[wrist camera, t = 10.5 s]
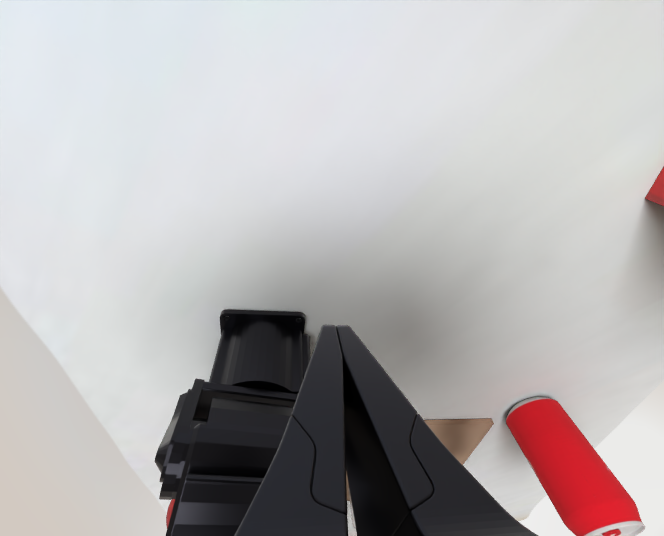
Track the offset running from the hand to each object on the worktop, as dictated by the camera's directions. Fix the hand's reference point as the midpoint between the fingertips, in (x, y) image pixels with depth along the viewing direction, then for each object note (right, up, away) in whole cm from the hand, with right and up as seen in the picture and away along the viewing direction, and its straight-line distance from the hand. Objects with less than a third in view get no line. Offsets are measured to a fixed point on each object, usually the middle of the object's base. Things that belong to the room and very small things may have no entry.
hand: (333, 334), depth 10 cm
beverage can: (+23, -15, +28) cm, 39 cm away
